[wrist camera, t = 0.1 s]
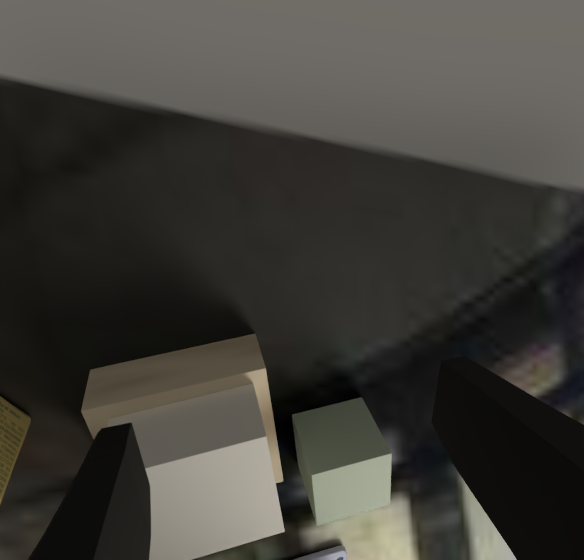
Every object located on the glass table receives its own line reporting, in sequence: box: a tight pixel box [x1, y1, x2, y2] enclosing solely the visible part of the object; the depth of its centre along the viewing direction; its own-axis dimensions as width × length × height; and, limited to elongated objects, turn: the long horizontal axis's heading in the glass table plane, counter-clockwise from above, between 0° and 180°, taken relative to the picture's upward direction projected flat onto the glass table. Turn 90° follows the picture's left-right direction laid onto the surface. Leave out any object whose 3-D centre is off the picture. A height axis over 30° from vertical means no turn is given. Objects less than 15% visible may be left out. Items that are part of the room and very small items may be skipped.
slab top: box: [108, 383, 285, 560], centre depth 19 cm, size 6×6×3 cm
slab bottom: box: [81, 334, 283, 483], centre depth 22 cm, size 8×8×3 cm
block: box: [292, 397, 392, 526], centre depth 24 cm, size 4×4×4 cm
